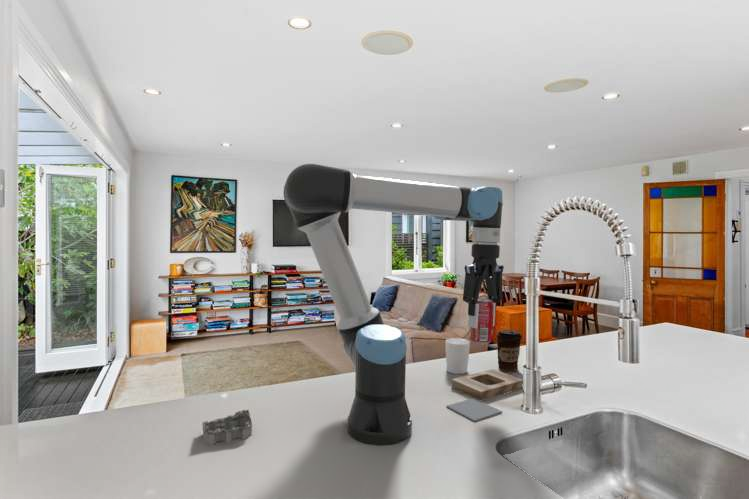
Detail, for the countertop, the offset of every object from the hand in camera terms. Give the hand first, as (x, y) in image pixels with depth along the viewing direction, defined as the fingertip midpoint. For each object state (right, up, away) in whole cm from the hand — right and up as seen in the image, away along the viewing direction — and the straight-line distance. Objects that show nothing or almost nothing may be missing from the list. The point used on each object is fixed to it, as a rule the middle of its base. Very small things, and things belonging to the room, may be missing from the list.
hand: (481, 325), depth 120 cm
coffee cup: (+15, -19, +25) cm, 35 cm away
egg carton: (-63, -21, -23) cm, 70 cm away
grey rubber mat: (-4, -21, -8) cm, 22 cm away
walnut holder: (+4, -20, +8) cm, 22 cm away
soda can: (0, -5, 0) cm, 5 cm away
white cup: (-2, -19, +23) cm, 30 cm away
